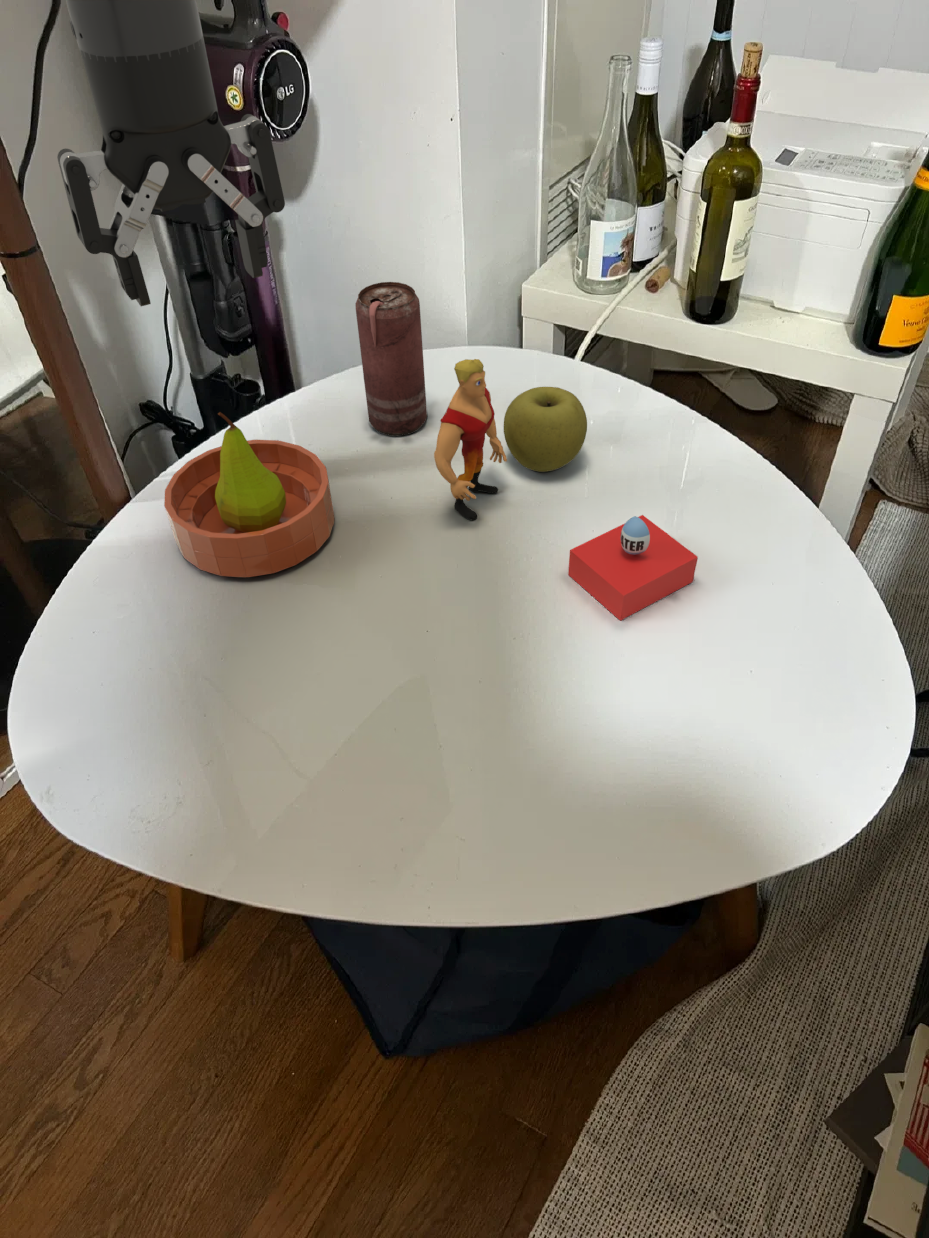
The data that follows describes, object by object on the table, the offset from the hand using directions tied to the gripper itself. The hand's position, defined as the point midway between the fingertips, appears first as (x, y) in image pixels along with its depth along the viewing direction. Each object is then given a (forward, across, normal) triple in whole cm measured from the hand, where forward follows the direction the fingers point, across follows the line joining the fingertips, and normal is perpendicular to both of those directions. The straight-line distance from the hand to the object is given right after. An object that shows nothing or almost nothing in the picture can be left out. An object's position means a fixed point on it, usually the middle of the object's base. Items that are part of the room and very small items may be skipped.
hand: (200, 287), depth 68 cm
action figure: (+23, +19, -7) cm, 31 cm away
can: (+23, +19, +9) cm, 31 cm away
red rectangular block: (+23, +25, -23) cm, 41 cm away
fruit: (+23, 0, 0) cm, 23 cm away
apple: (+23, +28, -5) cm, 37 cm away
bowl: (+23, 0, 0) cm, 23 cm away
